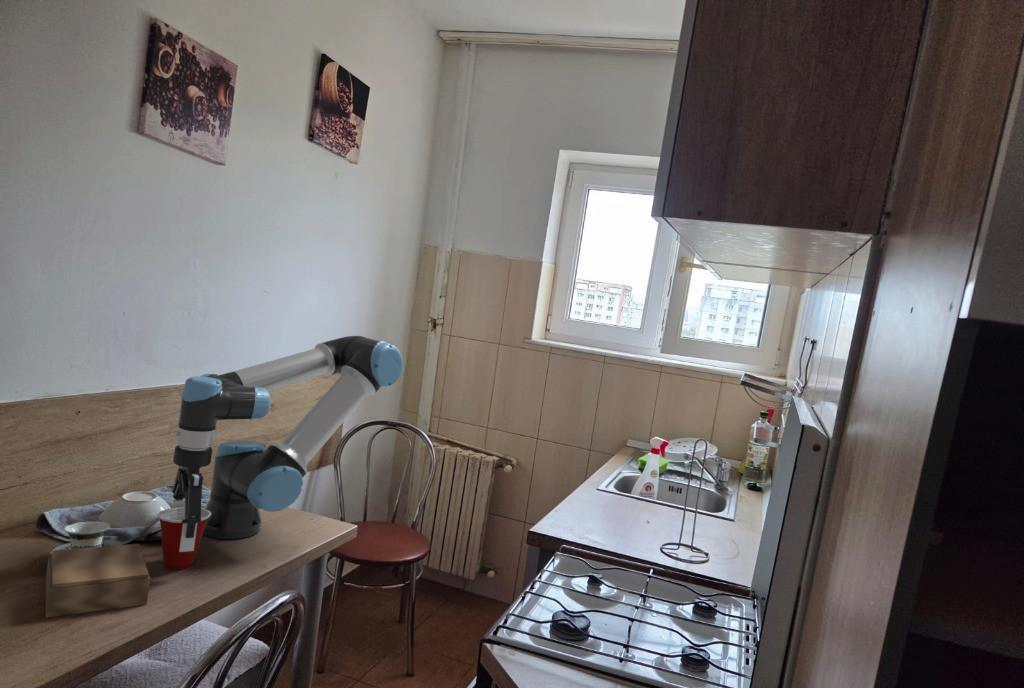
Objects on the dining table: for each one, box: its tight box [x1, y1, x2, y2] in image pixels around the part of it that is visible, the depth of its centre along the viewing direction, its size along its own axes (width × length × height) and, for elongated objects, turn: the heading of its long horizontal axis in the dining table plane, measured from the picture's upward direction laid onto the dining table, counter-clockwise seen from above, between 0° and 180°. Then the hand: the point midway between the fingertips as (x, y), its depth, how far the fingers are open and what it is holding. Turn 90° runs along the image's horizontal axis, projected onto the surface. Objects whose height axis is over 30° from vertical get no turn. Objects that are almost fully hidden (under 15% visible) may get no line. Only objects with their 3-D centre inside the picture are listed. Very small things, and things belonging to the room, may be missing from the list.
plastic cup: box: [157, 507, 211, 570], centre depth 142 cm, size 11×11×12 cm
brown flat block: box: [45, 543, 151, 618], centre depth 125 cm, size 16×16×6 cm
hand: (180, 538), depth 142 cm, fingers open, 13 cm apart
